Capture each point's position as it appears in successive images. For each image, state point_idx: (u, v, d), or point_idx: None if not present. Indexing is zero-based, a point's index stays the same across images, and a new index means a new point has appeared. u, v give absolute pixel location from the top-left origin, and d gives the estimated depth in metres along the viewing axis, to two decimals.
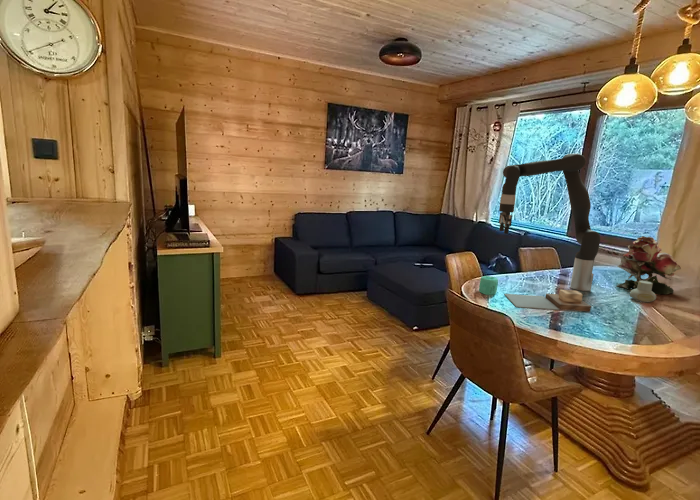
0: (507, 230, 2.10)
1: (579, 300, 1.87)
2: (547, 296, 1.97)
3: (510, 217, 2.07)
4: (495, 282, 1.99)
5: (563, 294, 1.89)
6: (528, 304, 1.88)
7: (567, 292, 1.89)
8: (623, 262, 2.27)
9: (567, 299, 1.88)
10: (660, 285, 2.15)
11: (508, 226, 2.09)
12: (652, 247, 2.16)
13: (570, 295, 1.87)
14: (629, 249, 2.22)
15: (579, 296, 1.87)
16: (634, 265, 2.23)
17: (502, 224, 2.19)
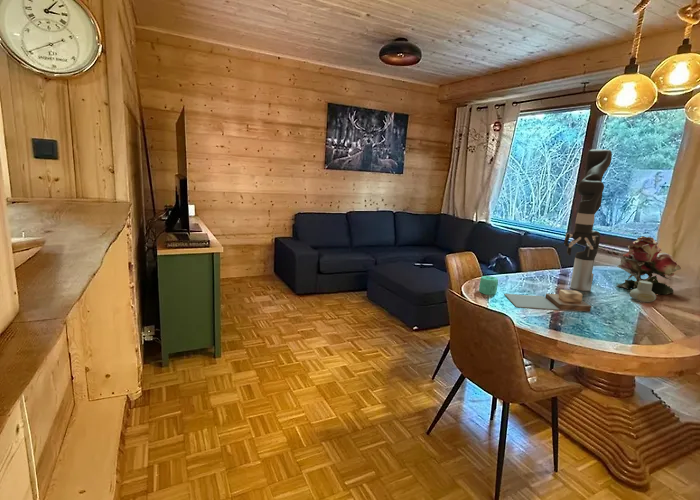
0: (591, 253, 1.90)
1: (579, 300, 1.87)
2: (547, 296, 1.97)
3: None
4: (495, 282, 1.99)
5: (563, 294, 1.89)
6: (528, 304, 1.88)
7: (567, 292, 1.89)
8: (623, 262, 2.27)
9: (567, 299, 1.88)
10: (660, 285, 2.15)
11: (594, 248, 1.89)
12: (652, 247, 2.15)
13: (570, 295, 1.87)
14: (629, 249, 2.22)
15: (579, 296, 1.87)
16: (634, 265, 2.23)
17: None
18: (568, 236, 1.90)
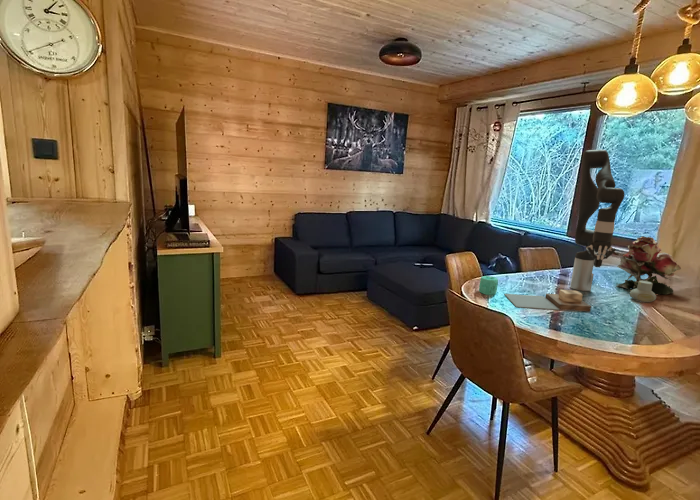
0: None
1: (579, 300, 1.87)
2: (547, 296, 1.97)
3: None
4: (495, 282, 1.99)
5: (563, 294, 1.89)
6: (528, 304, 1.88)
7: (567, 292, 1.89)
8: (623, 262, 2.27)
9: (567, 299, 1.88)
10: (660, 285, 2.15)
11: (603, 258, 1.86)
12: (652, 247, 2.15)
13: (570, 295, 1.87)
14: (629, 249, 2.22)
15: (579, 296, 1.87)
16: (634, 265, 2.23)
17: None
18: (590, 249, 1.84)
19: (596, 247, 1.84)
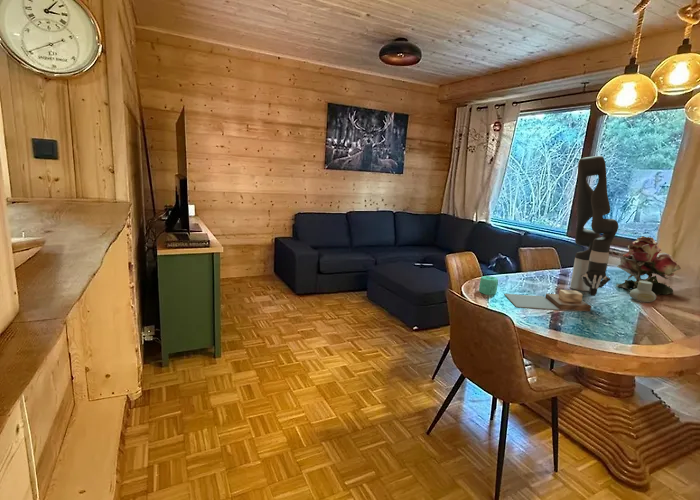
0: None
1: (579, 300, 1.87)
2: (547, 296, 1.97)
3: None
4: (495, 282, 1.99)
5: (563, 294, 1.89)
6: (528, 304, 1.88)
7: (567, 292, 1.89)
8: (623, 262, 2.26)
9: (567, 299, 1.88)
10: (660, 285, 2.15)
11: None
12: (652, 247, 2.15)
13: (570, 295, 1.87)
14: (629, 249, 2.22)
15: (579, 296, 1.87)
16: (634, 265, 2.23)
17: None
18: (585, 278, 1.87)
19: (591, 276, 1.87)
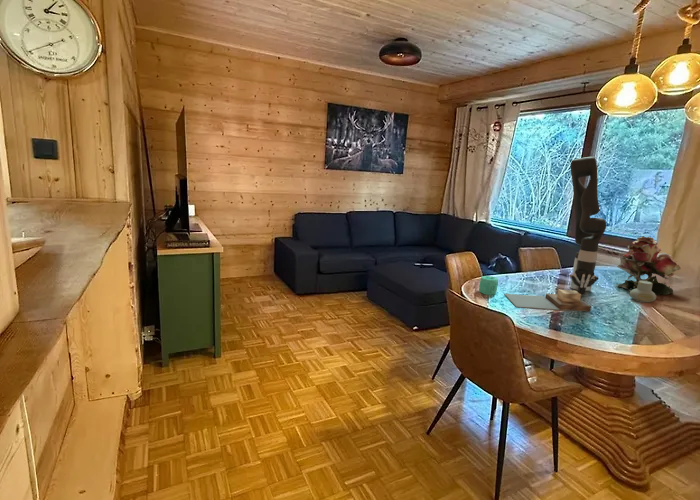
0: None
1: (577, 300, 1.87)
2: (547, 296, 1.97)
3: None
4: (495, 282, 1.99)
5: (561, 294, 1.89)
6: (528, 304, 1.88)
7: (566, 292, 1.89)
8: (623, 262, 2.26)
9: (566, 299, 1.88)
10: (660, 285, 2.15)
11: None
12: (652, 247, 2.15)
13: (569, 295, 1.87)
14: (629, 249, 2.22)
15: (577, 296, 1.87)
16: (634, 265, 2.23)
17: None
18: (574, 277, 1.87)
19: (579, 275, 1.87)
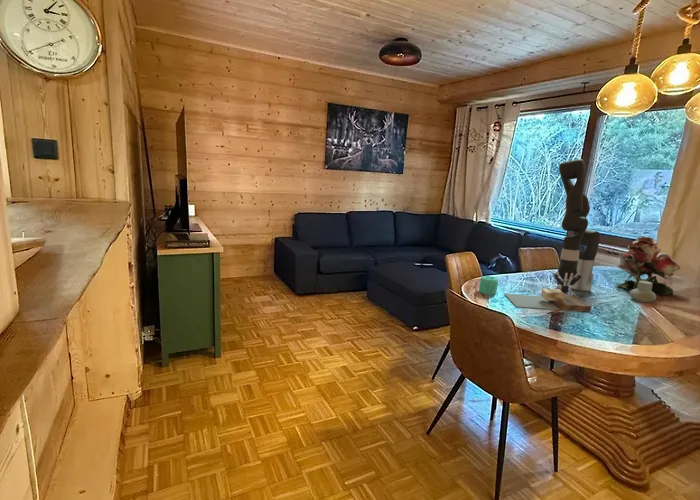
0: None
1: (561, 299, 1.88)
2: None
3: None
4: (495, 282, 1.99)
5: (544, 293, 1.90)
6: (528, 304, 1.88)
7: (549, 291, 1.90)
8: (622, 262, 2.26)
9: (549, 298, 1.89)
10: (660, 285, 2.14)
11: (569, 284, 1.89)
12: (652, 247, 2.15)
13: (551, 294, 1.88)
14: (629, 249, 2.21)
15: (560, 294, 1.88)
16: (634, 265, 2.22)
17: None
18: (556, 276, 1.87)
19: (562, 274, 1.87)
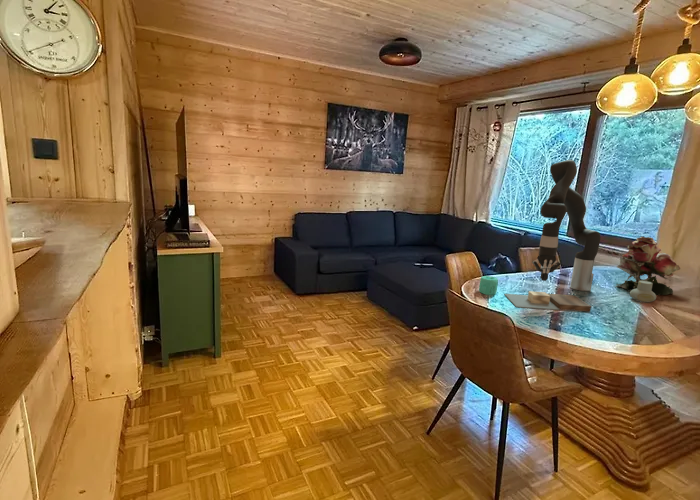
0: None
1: (547, 302, 1.89)
2: None
3: None
4: (495, 282, 1.99)
5: (531, 296, 1.91)
6: (528, 304, 1.88)
7: (535, 294, 1.91)
8: (622, 262, 2.26)
9: (535, 301, 1.90)
10: (659, 285, 2.14)
11: None
12: (652, 247, 2.14)
13: (538, 297, 1.89)
14: None
15: (547, 297, 1.89)
16: (633, 265, 2.22)
17: None
18: (536, 263, 1.87)
19: (542, 261, 1.87)
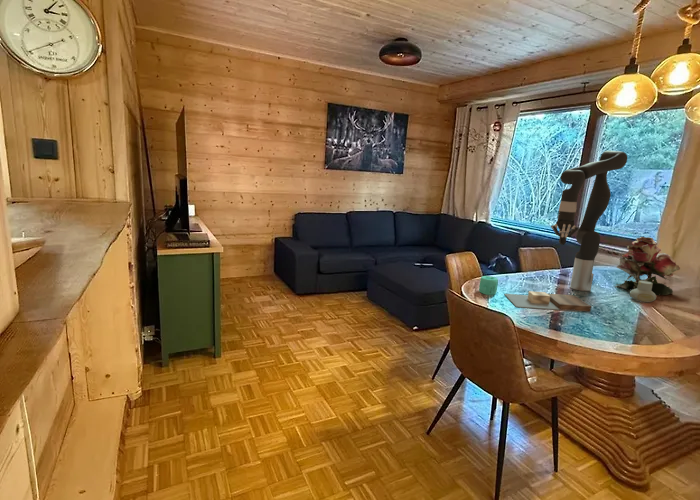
0: None
1: (547, 302, 1.89)
2: None
3: None
4: (495, 282, 1.99)
5: (531, 296, 1.91)
6: (528, 304, 1.88)
7: (535, 294, 1.91)
8: (622, 263, 2.25)
9: (535, 301, 1.90)
10: (659, 285, 2.14)
11: (567, 236, 2.00)
12: (651, 247, 2.14)
13: (538, 297, 1.89)
14: None
15: (547, 297, 1.89)
16: (633, 266, 2.22)
17: None
18: (555, 228, 1.98)
19: (560, 226, 1.97)
